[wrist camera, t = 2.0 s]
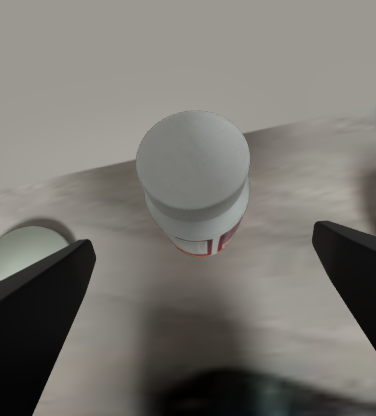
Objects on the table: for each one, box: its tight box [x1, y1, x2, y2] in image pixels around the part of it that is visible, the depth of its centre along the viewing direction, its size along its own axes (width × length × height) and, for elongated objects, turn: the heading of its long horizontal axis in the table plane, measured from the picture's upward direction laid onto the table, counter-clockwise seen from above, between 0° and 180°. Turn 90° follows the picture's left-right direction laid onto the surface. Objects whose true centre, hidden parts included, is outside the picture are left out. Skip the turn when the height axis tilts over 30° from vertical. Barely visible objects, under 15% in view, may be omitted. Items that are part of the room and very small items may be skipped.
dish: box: [0, 226, 70, 281], centre depth 20 cm, size 9×9×1 cm
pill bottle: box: [136, 111, 250, 257], centre depth 15 cm, size 6×6×11 cm
